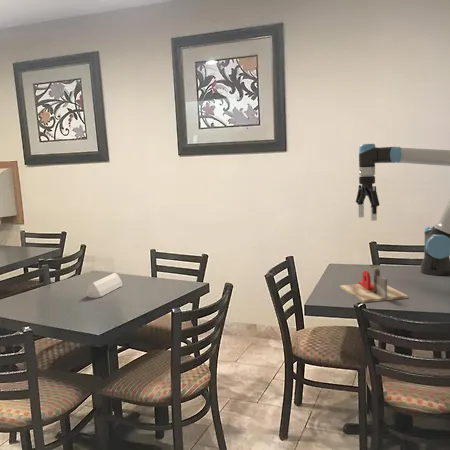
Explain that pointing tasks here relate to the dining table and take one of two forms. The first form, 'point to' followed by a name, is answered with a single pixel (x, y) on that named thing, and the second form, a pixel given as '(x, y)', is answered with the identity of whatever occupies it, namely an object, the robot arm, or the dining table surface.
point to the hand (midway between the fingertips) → (367, 218)
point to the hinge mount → (378, 293)
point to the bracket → (366, 281)
